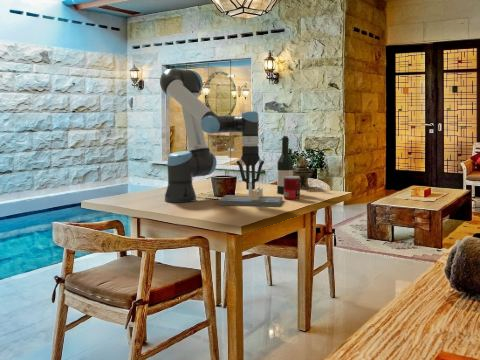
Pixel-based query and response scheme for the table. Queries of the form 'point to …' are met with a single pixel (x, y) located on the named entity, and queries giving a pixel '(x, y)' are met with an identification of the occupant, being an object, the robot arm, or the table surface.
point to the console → (250, 200)
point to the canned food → (291, 187)
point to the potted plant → (302, 172)
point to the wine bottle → (283, 166)
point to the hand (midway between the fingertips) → (250, 196)
